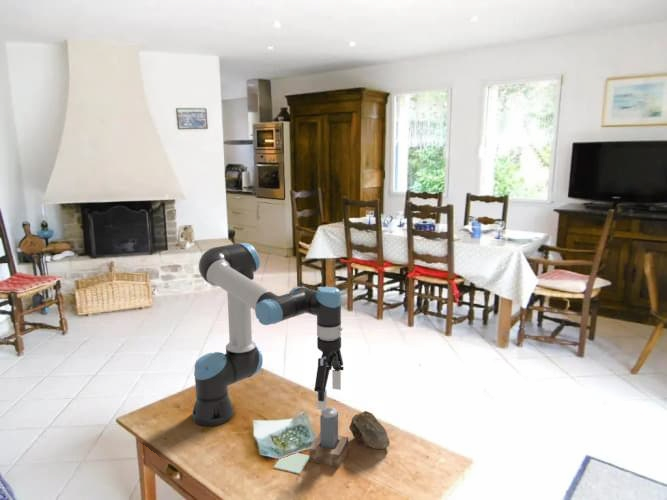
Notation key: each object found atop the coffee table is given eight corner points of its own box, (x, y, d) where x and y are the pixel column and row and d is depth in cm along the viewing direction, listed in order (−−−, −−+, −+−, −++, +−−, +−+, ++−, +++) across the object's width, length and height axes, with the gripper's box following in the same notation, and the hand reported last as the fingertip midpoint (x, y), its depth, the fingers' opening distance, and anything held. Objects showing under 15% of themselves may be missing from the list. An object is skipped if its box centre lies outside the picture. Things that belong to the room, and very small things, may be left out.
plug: (319, 458, 155) (319, 413, 152) (324, 449, 160) (324, 406, 157) (334, 461, 154) (333, 416, 150) (338, 452, 158) (339, 408, 155)
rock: (404, 426, 160) (370, 395, 162) (397, 441, 154) (362, 410, 156) (381, 445, 168) (349, 416, 170) (373, 460, 162) (340, 430, 164)
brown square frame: (309, 461, 154) (309, 448, 153) (320, 443, 163) (320, 431, 162) (338, 467, 150) (338, 455, 150) (348, 449, 160) (348, 437, 159)
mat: (273, 468, 150) (273, 466, 150) (285, 451, 159) (285, 450, 159) (299, 474, 147) (299, 473, 147) (310, 457, 156) (310, 455, 156)
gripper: (326, 353, 135) (327, 420, 140) (352, 324, 158) (352, 382, 163) (302, 350, 138) (304, 416, 142) (331, 321, 161) (331, 379, 165)
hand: (329, 398), depth 152 cm, fingers open, 13 cm apart
